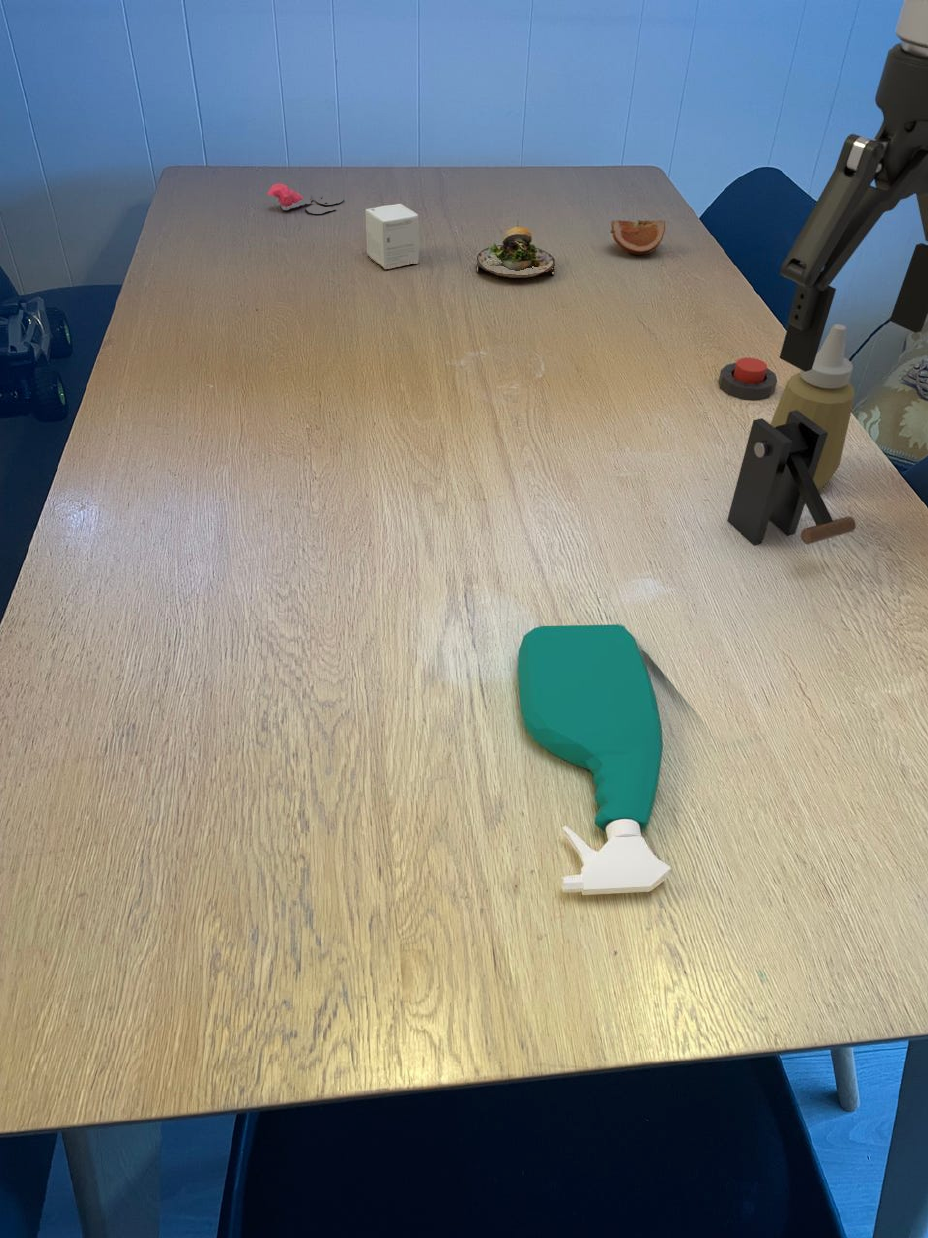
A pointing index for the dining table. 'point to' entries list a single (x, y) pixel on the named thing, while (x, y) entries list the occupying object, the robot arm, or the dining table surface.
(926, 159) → the robot arm
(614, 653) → the spray bottle
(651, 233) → the fruit slice
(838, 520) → the lever
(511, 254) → the burger
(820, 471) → the squeeze bottle
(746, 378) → the button
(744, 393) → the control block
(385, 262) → the product box
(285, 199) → the pink fuzzy curved piece
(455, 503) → the dining table surface
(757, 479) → the bracket
